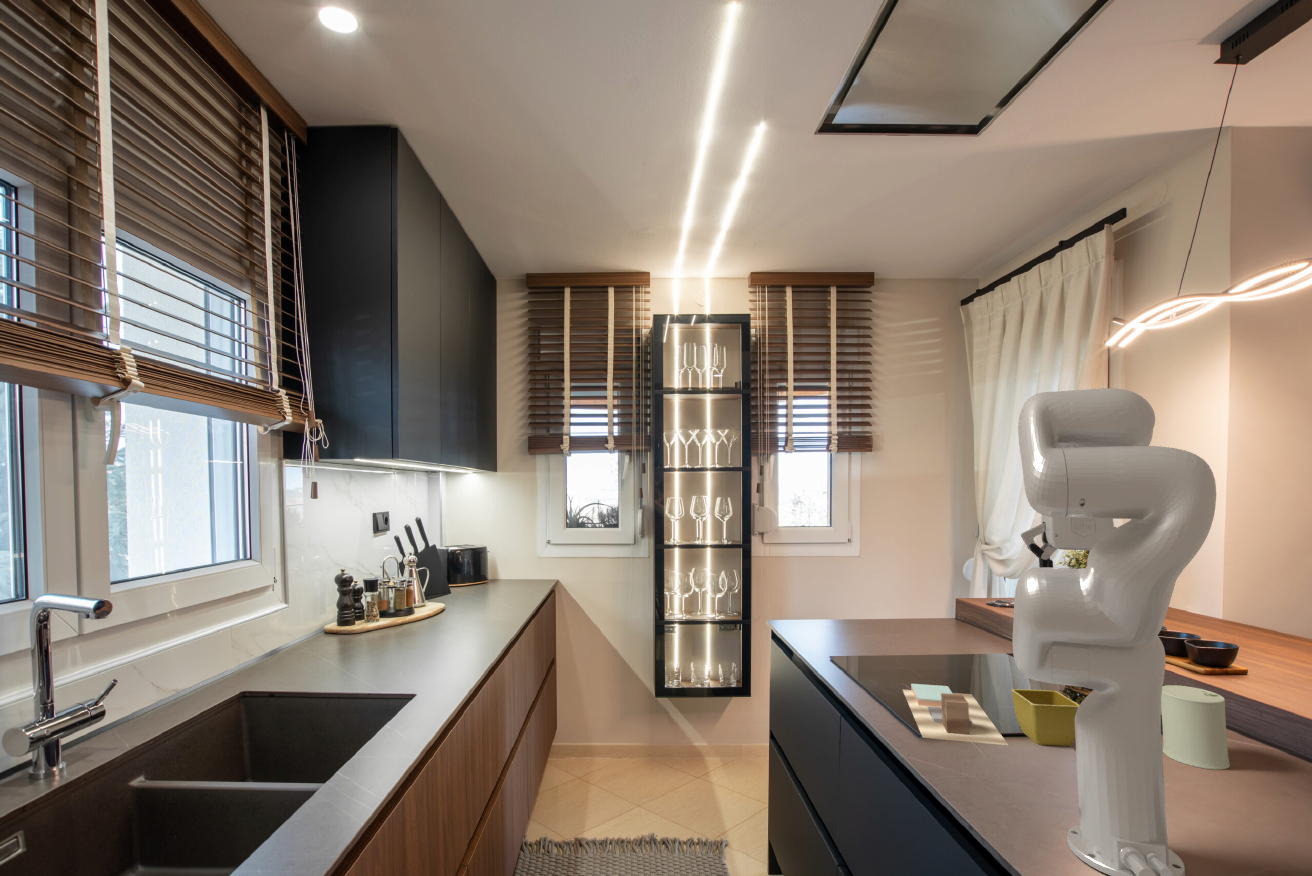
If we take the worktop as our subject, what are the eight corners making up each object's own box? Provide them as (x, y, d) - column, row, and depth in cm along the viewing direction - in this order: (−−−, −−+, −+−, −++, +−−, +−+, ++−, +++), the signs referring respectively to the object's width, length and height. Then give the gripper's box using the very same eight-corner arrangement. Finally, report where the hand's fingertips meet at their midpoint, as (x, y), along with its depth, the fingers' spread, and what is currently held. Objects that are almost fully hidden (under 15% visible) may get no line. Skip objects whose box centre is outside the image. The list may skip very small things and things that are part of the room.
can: (1243, 772, 106) (1238, 701, 107) (1182, 767, 108) (1178, 697, 109) (1207, 749, 115) (1203, 683, 116) (1151, 745, 117) (1147, 681, 118)
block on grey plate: (978, 735, 119) (976, 704, 120) (939, 732, 121) (937, 701, 121) (963, 712, 131) (962, 684, 131) (928, 710, 133) (927, 681, 133)
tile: (957, 701, 134) (947, 686, 143) (918, 698, 136) (911, 683, 145) (957, 708, 133) (948, 692, 143) (918, 705, 135) (911, 690, 145)
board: (1009, 751, 115) (1008, 745, 115) (922, 743, 118) (922, 737, 119) (971, 699, 142) (971, 694, 142) (902, 694, 146) (902, 689, 146)
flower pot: (1059, 736, 122) (1056, 689, 122) (1085, 756, 113) (1082, 705, 113) (1012, 734, 122) (1010, 688, 123) (1034, 754, 114) (1032, 704, 114)
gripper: (1027, 484, 107) (1032, 584, 105) (1141, 484, 103) (1148, 588, 101) (1012, 484, 114) (1016, 578, 113) (1118, 484, 110) (1124, 581, 109)
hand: (1079, 582), depth 107 cm, fingers open, 9 cm apart
